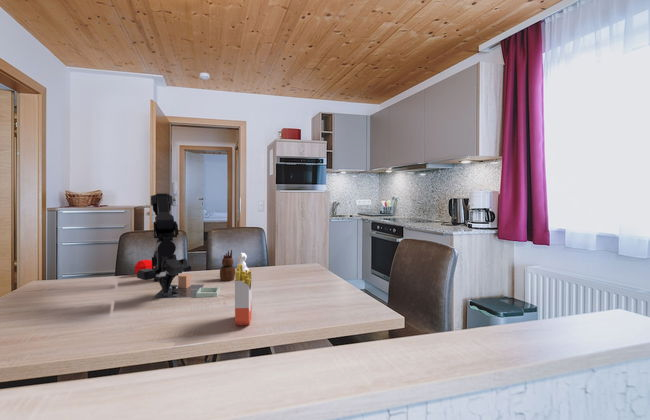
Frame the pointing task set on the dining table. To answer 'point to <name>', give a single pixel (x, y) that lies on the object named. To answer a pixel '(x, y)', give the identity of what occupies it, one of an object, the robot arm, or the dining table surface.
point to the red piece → (143, 265)
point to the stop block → (184, 281)
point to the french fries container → (243, 296)
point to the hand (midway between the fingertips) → (166, 292)
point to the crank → (174, 289)
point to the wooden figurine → (227, 268)
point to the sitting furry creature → (242, 262)
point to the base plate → (179, 292)
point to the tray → (208, 289)
